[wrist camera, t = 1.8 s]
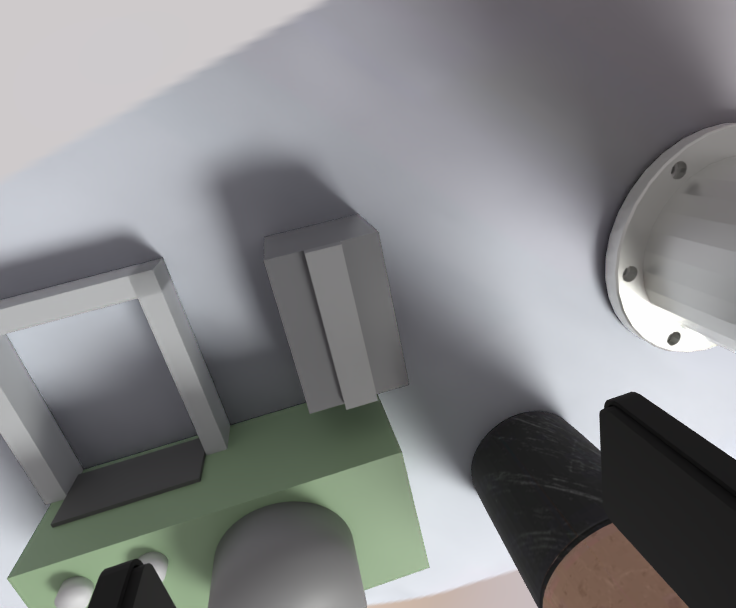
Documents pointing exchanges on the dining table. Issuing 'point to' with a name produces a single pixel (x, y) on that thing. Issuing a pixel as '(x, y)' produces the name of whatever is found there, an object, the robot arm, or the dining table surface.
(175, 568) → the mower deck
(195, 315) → the dining table surface
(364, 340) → the ridged grey block
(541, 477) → the travel mug
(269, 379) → the dining table surface
